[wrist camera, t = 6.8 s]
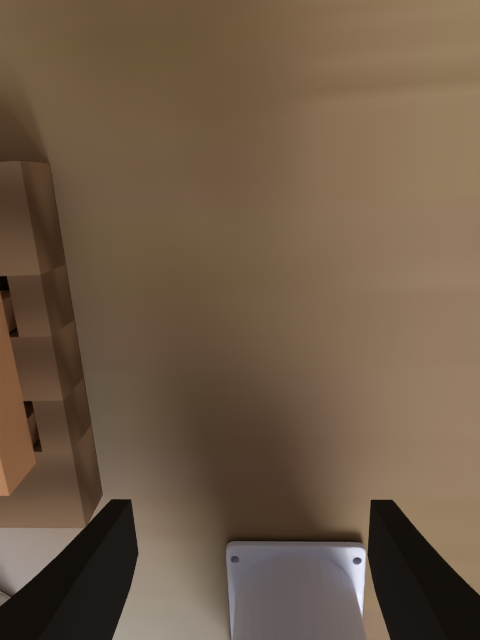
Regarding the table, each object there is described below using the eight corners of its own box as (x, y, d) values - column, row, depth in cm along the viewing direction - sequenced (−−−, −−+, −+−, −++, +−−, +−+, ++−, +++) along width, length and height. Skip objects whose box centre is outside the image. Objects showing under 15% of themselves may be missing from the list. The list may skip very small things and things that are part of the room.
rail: (102, 495, 25) (85, 528, 23) (1, 495, 25) (-26, 527, 23) (49, 163, 20) (19, 160, 17) (-78, 168, 20) (-124, 167, 18)
